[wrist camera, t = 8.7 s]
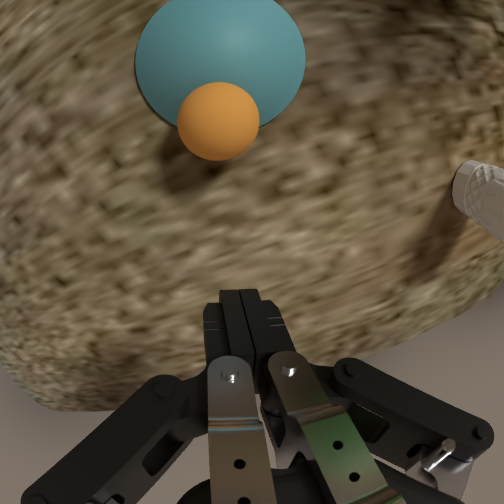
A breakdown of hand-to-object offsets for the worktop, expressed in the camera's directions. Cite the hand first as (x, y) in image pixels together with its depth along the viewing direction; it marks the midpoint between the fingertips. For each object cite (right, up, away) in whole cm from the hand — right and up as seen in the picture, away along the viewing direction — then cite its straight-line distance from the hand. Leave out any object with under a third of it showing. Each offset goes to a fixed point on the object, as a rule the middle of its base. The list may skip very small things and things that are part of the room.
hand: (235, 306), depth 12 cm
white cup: (+27, +10, +16) cm, 33 cm away
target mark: (-2, +17, +6) cm, 18 cm away
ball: (-2, +11, +6) cm, 13 cm away
